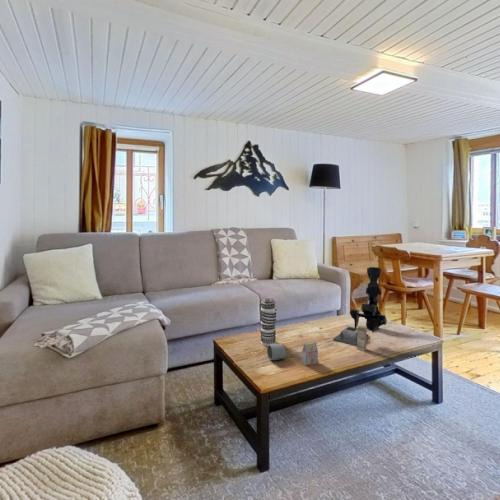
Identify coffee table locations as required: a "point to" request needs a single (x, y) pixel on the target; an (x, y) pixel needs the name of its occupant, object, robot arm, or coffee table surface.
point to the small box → (310, 354)
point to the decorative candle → (268, 321)
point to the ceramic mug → (276, 351)
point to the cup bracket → (348, 336)
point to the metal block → (361, 337)
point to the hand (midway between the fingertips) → (363, 330)
